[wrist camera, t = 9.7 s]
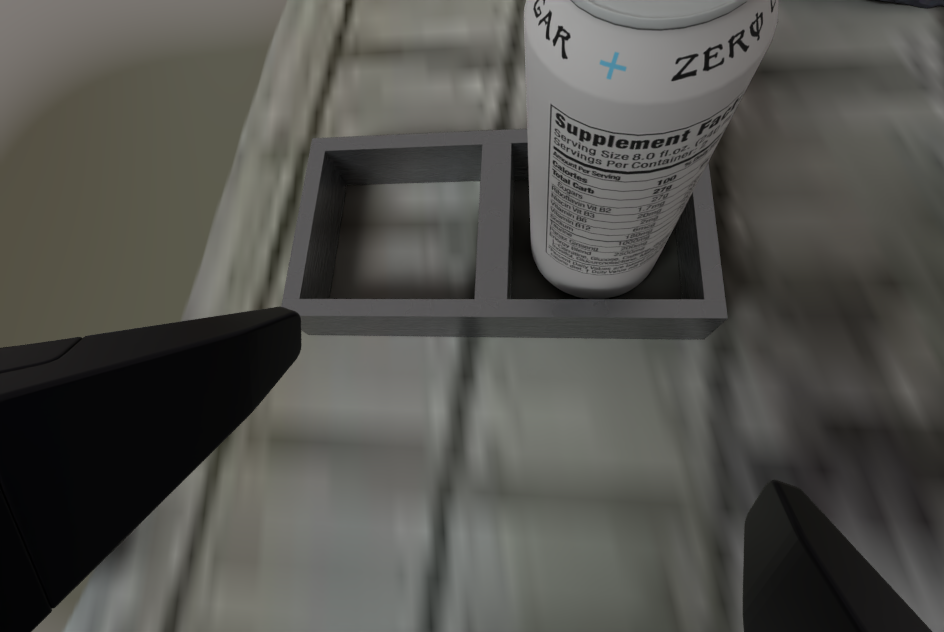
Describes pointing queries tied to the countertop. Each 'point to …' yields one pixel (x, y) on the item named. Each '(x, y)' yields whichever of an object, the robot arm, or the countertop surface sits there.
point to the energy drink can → (627, 125)
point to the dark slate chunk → (920, 2)
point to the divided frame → (481, 250)
